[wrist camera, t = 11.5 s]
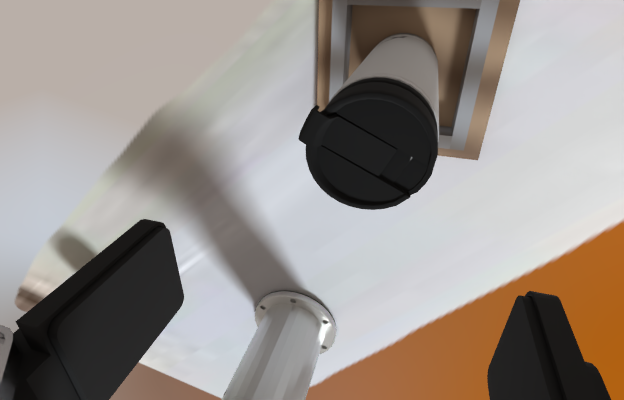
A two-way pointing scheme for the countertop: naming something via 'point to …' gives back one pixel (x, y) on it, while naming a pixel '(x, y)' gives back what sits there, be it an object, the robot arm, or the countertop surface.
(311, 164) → the travel mug
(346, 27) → the frame
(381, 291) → the countertop surface
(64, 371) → the robot arm
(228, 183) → the countertop surface
